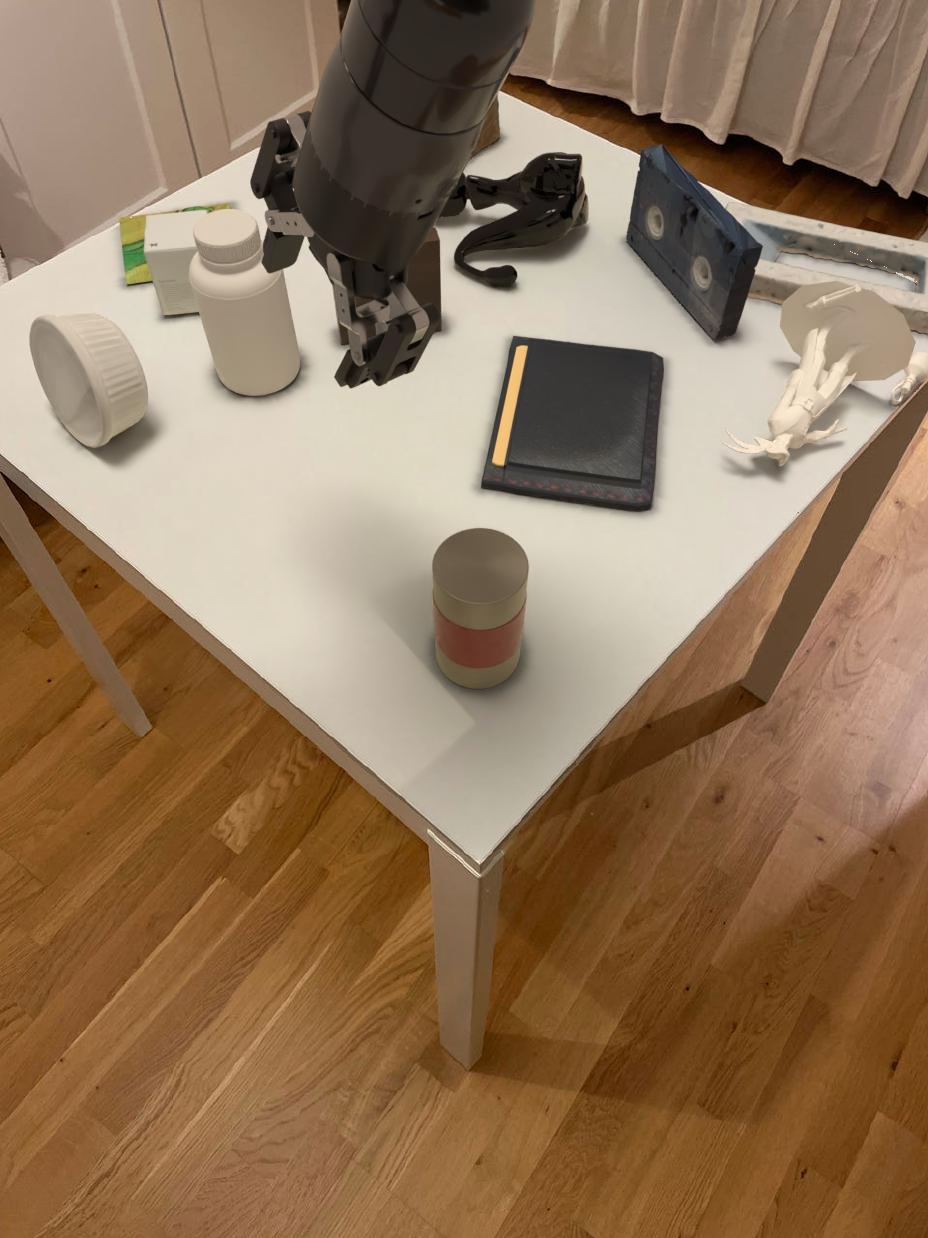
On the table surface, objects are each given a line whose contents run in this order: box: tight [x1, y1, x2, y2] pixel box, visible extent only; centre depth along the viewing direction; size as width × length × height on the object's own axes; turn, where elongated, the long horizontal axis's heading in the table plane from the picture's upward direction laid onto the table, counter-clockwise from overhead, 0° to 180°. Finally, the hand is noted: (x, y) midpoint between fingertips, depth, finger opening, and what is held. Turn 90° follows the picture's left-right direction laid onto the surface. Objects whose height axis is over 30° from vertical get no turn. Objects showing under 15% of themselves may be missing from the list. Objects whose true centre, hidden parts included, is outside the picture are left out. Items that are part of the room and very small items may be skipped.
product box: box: [144, 210, 208, 316], centre depth 91 cm, size 6×6×7 cm
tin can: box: [431, 527, 530, 690], centre depth 66 cm, size 6×6×11 cm
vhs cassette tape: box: [625, 143, 763, 340], centre depth 91 cm, size 18×3×10 cm, turn 22°
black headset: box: [438, 151, 590, 289], centre depth 97 cm, size 10×14×18 cm
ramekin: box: [28, 312, 149, 449], centre depth 80 cm, size 11×11×5 cm
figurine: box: [719, 281, 928, 467], centre depth 82 cm, size 16×12×20 cm
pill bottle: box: [189, 208, 301, 397], centre depth 82 cm, size 8×8×15 cm
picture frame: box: [724, 201, 928, 335], centre depth 96 cm, size 13×25×3 cm, turn 69°
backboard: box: [331, 226, 443, 346], centre depth 87 cm, size 2×10×10 cm, turn 103°
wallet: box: [480, 335, 665, 512], centre depth 84 cm, size 20×2×15 cm
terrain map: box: [118, 202, 232, 285], centre depth 99 cm, size 12×12×1 cm
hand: (313, 321), depth 59 cm, fingers open, 8 cm apart
